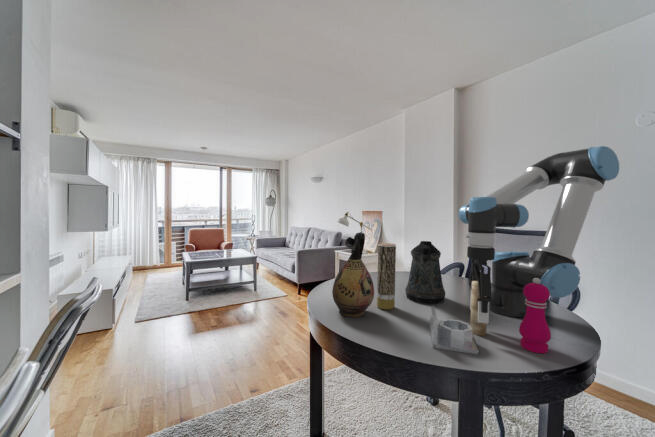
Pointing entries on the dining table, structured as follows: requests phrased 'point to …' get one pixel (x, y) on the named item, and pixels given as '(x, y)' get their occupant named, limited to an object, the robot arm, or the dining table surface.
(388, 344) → the dining table surface
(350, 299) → the ceramic jug
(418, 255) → the black tapered vessel
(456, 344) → the cup bracket
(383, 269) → the paper tube
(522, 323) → the pepper mill
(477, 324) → the wooden spindle
